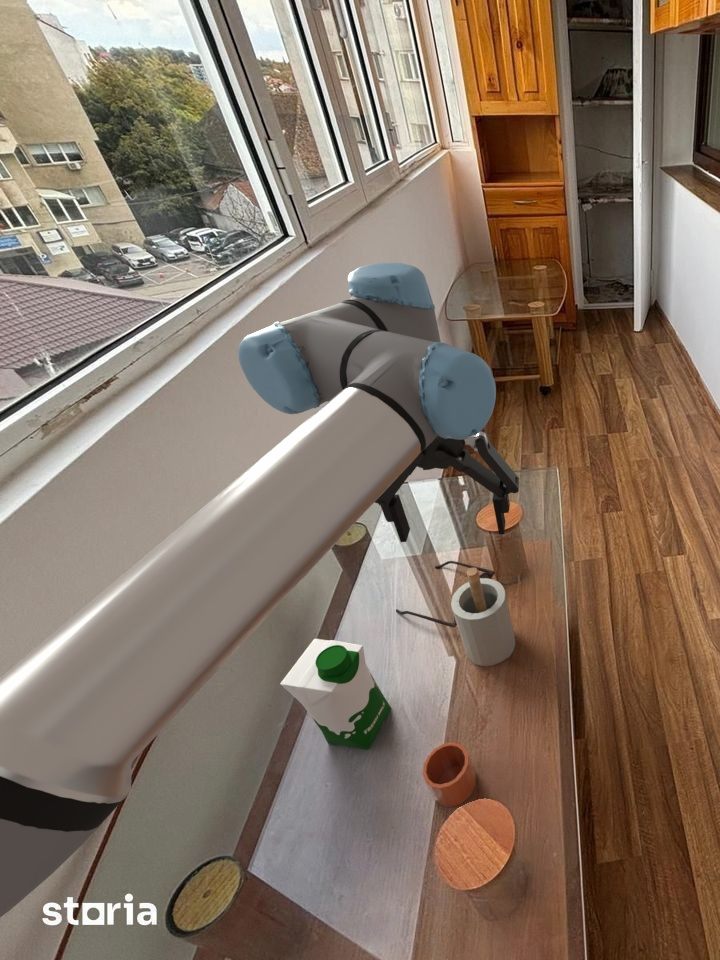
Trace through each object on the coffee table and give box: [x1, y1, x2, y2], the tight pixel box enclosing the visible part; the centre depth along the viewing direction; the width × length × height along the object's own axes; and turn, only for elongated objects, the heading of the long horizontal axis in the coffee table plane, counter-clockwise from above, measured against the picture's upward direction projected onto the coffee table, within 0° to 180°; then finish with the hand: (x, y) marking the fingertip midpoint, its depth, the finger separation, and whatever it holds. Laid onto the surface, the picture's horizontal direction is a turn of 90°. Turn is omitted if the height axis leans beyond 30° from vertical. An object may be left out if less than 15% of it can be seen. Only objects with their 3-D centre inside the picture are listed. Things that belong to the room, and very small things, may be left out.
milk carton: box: [279, 638, 392, 751], centre depth 78 cm, size 9×9×20 cm
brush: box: [466, 568, 487, 613], centre depth 90 cm, size 3×3×20 cm
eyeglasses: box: [395, 560, 496, 629], centre depth 103 cm, size 15×15×5 cm
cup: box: [450, 578, 516, 667], centre depth 92 cm, size 9×9×14 cm
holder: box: [422, 741, 477, 808], centre depth 75 cm, size 6×6×7 cm
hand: (454, 531), depth 74 cm, fingers open, 13 cm apart
